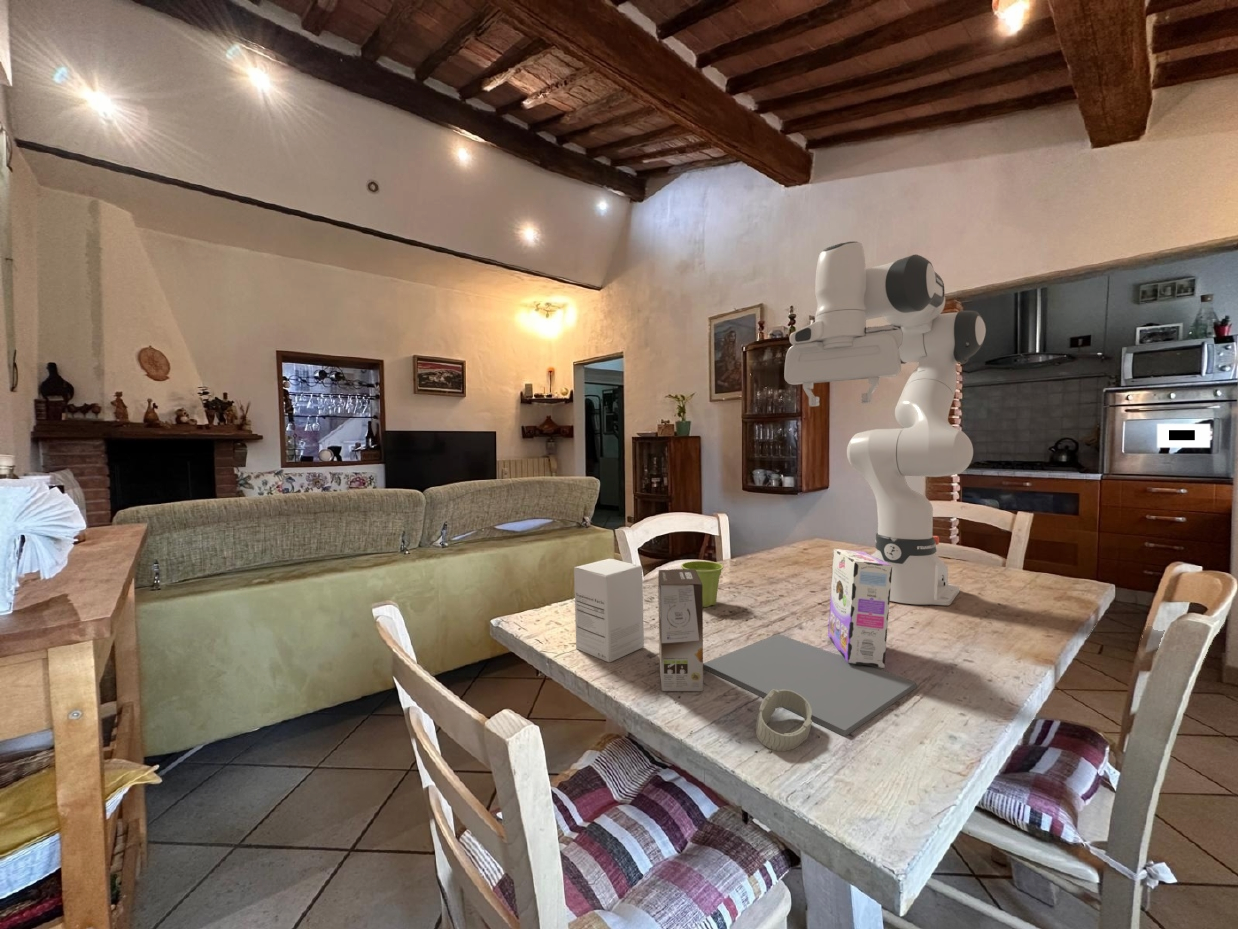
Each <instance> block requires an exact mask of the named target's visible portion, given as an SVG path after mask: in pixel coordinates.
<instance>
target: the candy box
mask: <svg viewBox="0 0 1238 929" xmlns="http://www.w3.org/2000/svg"><path fill="white" fill-rule="evenodd" d="M891 576H892V565H890V564H888V563H886V562H884V561H882V560H880V559H878V558H876V557H874V556H872V554H871V553H868V552H866V551H862V550H861V551H860V550H852V549H840V548H839V549H838V548H833V555H832V568H831V585H830V586H831V587H830V599H829V600H830V601H829V603H830V604H829V614H828V615H829V616H828V617H829V618H828V632H827V633H828V634H827V636H828V638H829V640H830V641H831V642H832V644H833V645H834V646H835V647H836V649H837V650H838V651H839V653H840V654H841V656H843V657H844V658H845V660H846V661H847V662H848V663H853V664H860V665H867V666H872V667H875V668H879V669H881V668H883V669H884V668H885V667H886V653H887V652H886V650H887V638H888V625H889V615H890V614H889V611H890V602H891V601H890V590H891Z"/></svg>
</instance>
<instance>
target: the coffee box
mask: <svg viewBox="0 0 1238 929" xmlns="http://www.w3.org/2000/svg"><path fill="white" fill-rule="evenodd" d="M657 572H658V576H657V577H658V578H657V579H658V580H657V581H658V583H657V584H658V593H657V594H658V596H657V597H658V600H657V602H658V650H659V653H658V656H659V657H658V658H659V660H658V661H659V674H660V688H661V691H662V692H702V691H703V690H704V669H703V663H704V637H703V636H704V619H703V618H704V617H703V616H704V613H703V612H704V611H703V610H704V609H703V608H704V607H703V584H702V582H701V580H700V578H699V576H698V574H697V571H696V570H695V569H683V568H676V569H675V568H673V569H671V568H670V569H659V570H658V571H657Z"/></svg>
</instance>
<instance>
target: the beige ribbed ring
mask: <svg viewBox="0 0 1238 929" xmlns="http://www.w3.org/2000/svg"><path fill="white" fill-rule="evenodd" d="M784 707H788V708H792V709H794V710H796V711H797V712H799V713H800V714H801V715H802V716H801V715H800V716H801V717H803V718H804V723H803V724H802V726H801V727H800V728H798V729H797V730H795V731H793V732H784V733H779V732H777V731H775V730H773V729H772V728H771V727H769V726H768V725H767V724H768V723H769V722H770V719H771V717H772V715H773V714H774V712H775V711H776V709H779V708H784ZM811 715H812V709H811V707H810V704H809V703H808V701H806V699H805V698H804V697H802V696H801V695H799V694H798V693H796V692H794V691H790V690H787V689H782V690H779V691H778V690H775V689H773V690H771V691H770V692H769V693H768V694H767V696H766V697H765V698H763V699H762V701H761V702H760V706H759V709H758V714H757V718H756V723H755V726H754V729H755V735H756V738H757V739H758V741H759V742H760V743H761V744H762V745H763V746H765V747H766V748H768V749H771V751H772V750H773V751H776V752H779V751H781V752H785V751H790V750H793V749H796V748H798V747H799V746H800V745H802V744H803V743H804V742H805V740H807V739H808V738H809V735H810V731H811V727H812V725H813V721H812V720H811Z"/></svg>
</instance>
